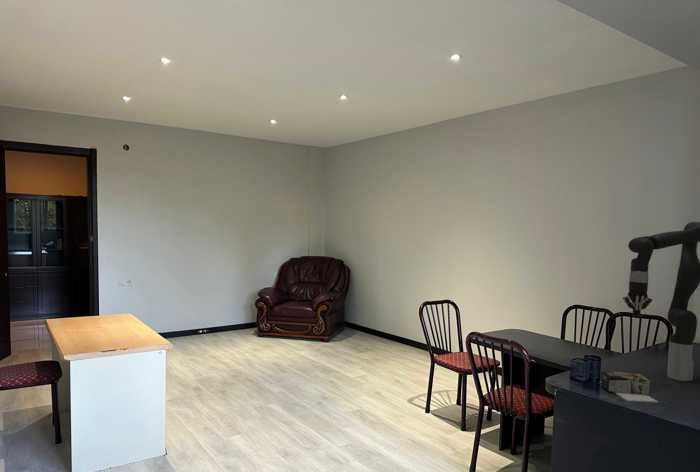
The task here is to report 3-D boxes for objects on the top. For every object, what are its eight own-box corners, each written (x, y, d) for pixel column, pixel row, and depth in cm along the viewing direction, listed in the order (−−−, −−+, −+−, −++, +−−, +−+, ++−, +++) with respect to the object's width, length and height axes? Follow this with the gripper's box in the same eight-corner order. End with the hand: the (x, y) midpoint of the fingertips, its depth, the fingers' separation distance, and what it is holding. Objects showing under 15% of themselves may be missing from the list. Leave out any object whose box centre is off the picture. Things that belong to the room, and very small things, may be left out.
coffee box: (650, 380, 202) (609, 377, 204) (648, 395, 202) (608, 391, 204) (639, 373, 211) (601, 370, 213) (638, 387, 211) (599, 384, 213)
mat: (627, 384, 217) (627, 383, 217) (657, 402, 195) (657, 401, 195) (599, 383, 217) (599, 381, 217) (627, 401, 195) (627, 400, 195)
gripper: (647, 280, 227) (645, 316, 228) (619, 279, 227) (617, 315, 228) (657, 282, 220) (655, 320, 220) (629, 281, 220) (626, 318, 220)
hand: (636, 317), depth 224 cm, fingers closed
